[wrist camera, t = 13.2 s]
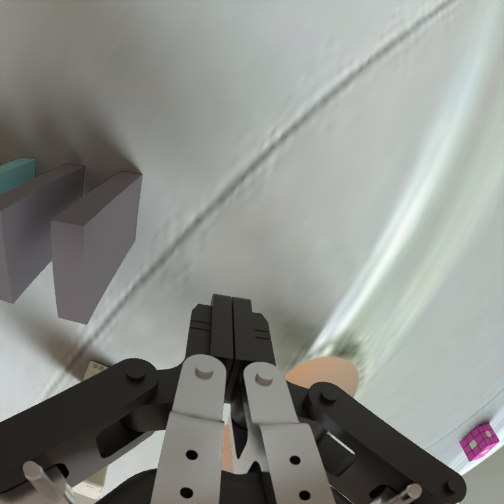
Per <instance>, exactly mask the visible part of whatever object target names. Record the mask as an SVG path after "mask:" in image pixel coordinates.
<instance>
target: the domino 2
mask: <svg viewBox="0 0 504 504" xmlns="http://www.w3.org/2000/svg"><path fill="white" fill-rule="evenodd" d="M84 168H85V166H81V165H73V164H64V165H62V166H59V167H57V168H55V169H53V170H50V171H48V172H46V173H44V174H41V175H39V176H37V177H35V178H33V179H31V180H29V181H27V182H25V183H23V184H21V185H19V186H17V187H15V188H13V189H11V190H9V191H7V192H5V193H3V194H1V195H0V300H3V301H6V302H9V303H12V304H13V303H14V302H15V301H16V300H17V299H18V298H19V296H20V295H21V294H22V293H23V292H24V290H25V289H26V288H27V287H28V286H29V285H30V284H31V282H32V281H33V280H34V279H35V278H36V277H37V276H38V275H39V274H40V272H41V271H42V270H43V269H44V268H45V267H46V266H47V265H48V264H49V263H50V262H51V261H52V242H51V220H52V219H53V218H55V217H56V216H57V215H59V214H60V213H61V212H63V211H64V210H65V209H67V208H68V207H69V206H71V205H72V204H73V203H75V202H76V201H78V200H79V199H80V198H82V194H83V179H84Z"/></svg>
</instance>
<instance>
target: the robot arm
mask: <svg viewBox="0 0 504 504" xmlns="http://www.w3.org/2000/svg"><path fill="white" fill-rule="evenodd" d="M269 332H270V331H269V325H268V322H267V320H266V319H265V318H264V316H263V315H262V314H260V313H253V312H252V306H251V300H250V299H243V298H237V297H232V298H231V297H230V296H224V295H218V294H213V296H212V301H211V306H209V305H203V304H198V305H197V306H196V307H195V308H194V309H193V310H192V314H191V320H190V327H189V333H188V340H187V347H186V355H185V359H184V361H183V362H182V363H181V364H180V365H178V366H177V367H174V368H171V369H165V370H156V368H155V367H154V366H153V365H152V364H151V363H149V362H147V361H145V360H143V359H138V358H130V359H125V360H123V361H121V362H119V363H117V364H115V365H113V366H111V367H109V368H107V369H105V370H104V371H102V372H100V373H98V374H96V375H94V376H92V377H90V378H88V379H86V380H84V381H82V382H80V383H79V384H77V385H75V386H73V387H71V388H69V389H67V390H65V391H63V392H61V393H59V394H57V395H55V396H53V397H51V398H49V399H47V400H45V401H43V402H41V403H39V404H37V405H35V406H33V407H31V408H29V409H27V410H25V411H23V412H21V413H19V414H17V415H14V416H12V417H10V418H8V419H6V420H4V421H2V422H0V504H74V500H75V498H74V493H73V490H72V488H73V487H74V486H76V485H78V484H79V483H81V482H82V481H84V480H86V479H87V478H89V477H90V476H92V475H94V474H95V473H97V472H98V471H100V470H101V469H103V468H104V467H106V466H107V465H109V464H110V463H112V462H113V461H115V460H116V459H118V458H119V457H121V456H122V455H124V454H125V453H127V452H128V451H130V450H131V449H133V448H134V447H135V446H137V445H138V444H140V443H141V442H143V441H144V440H145V439H147V438H148V437H150V436H151V435H152V434H153V433H154V432H155V431H158V430H166V432H165V436H164V441H163V445H162V450H161V454H160V459H159V464H158V468H156V469H150V470H147V471H143V472H141V473H138V474H136V475H134V476H132V477H130V478H128V479H127V480H126V481H124V482H123V483H122V484H120V485H119V486H118V487H116V488H115V489H114V490H112V491H111V492H110V493H108V494H107V495H106V496H104V497H103V498H101V499H100V500H99V501H98V502H96V503H95V504H353V503H354V504H458V503H459V502H461V501H462V500H463V499H464V497H465V495H466V483H465V481H464V479H463V478H462V476H461V475H460V474H458V473H457V472H455V471H454V470H452V469H451V468H449V467H448V466H446V465H445V464H443V463H442V462H441V461H439V460H438V459H436V458H435V457H433V456H432V455H430V454H429V453H427V452H426V451H425V450H423V449H422V448H420V447H419V446H417V445H416V444H415V443H413V442H412V441H410V440H409V439H408V438H406V437H405V436H403V435H402V434H401V433H399V432H398V431H396V430H395V429H394V428H392V427H391V426H390V425H388V424H387V423H386V422H384V421H383V420H381V419H380V418H379V417H377V416H376V415H375V414H373V413H372V412H371V411H369V410H368V409H367V408H365V407H364V406H363V405H361V404H360V403H359V402H357V401H356V400H355V399H354V398H352V397H351V396H350V395H348V394H347V393H346V392H344V391H343V390H342V389H341V388H339V387H338V386H336V385H334V384H332V383H328V382H318V383H315V384H313V385H312V386H311V387H310V389H307V388H304V387H301V386H298V385H295V384H292V383H290V382H288V381H287V380H286V379H285V376H284V374H283V373H282V371H281V370H280V369H279V368H277V367H276V364H275V358H274V353H273V347H272V342H271V336H270V333H269ZM224 403H229V404H231V412H230V415H229V418H228V426H229V433H230V441H231V448H232V456H233V473H230V472H227V471H223V470H221V467H222V452H223V438H224V421H222V417H223V405H224ZM328 431H329V432H330V433H331V434H332V435H334V436H335V437H336V438H337V439H339V440H340V441H341V442H342V443H344V444H345V445H346V446H347V447H349V448H350V449H351V450H352V451H353V452H354V453H355V454H353V453H351V452H350V451H348V450H347V449H346V448H345V447H343V446H342V445H341V444H339V443H338V442H337V441H336V440H335V439H333V438H332V437H331V436H330V435H328V434H327V433H328ZM329 484H330V485H331V486H333V487H334V488H335V489H334V488H333V487H331V486H330V485H329ZM337 490H338V491H339V492H340V493H339V492H338V491H337ZM342 494H343V495H344V496H345V497H346V498H345V497H344V496H343V495H342ZM347 498H348V499H349V500H350V501H352V502H353V503H351V502H350V501H349V500H348V499H347Z"/></svg>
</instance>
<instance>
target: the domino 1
mask: <svg viewBox="0 0 504 504" xmlns="http://www.w3.org/2000/svg"><path fill="white" fill-rule="evenodd" d="M35 171H36V159H27V158H19V159H17V160H14V161H11V162H8V163H6V164H3V165H0V195H1V194H3V193H5V192H7V191H9V190H11V189H13V188H15V187H17V186H19V185H21V184H23V183H25V182H27V181H29V180H31V179H33V178H35Z"/></svg>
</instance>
